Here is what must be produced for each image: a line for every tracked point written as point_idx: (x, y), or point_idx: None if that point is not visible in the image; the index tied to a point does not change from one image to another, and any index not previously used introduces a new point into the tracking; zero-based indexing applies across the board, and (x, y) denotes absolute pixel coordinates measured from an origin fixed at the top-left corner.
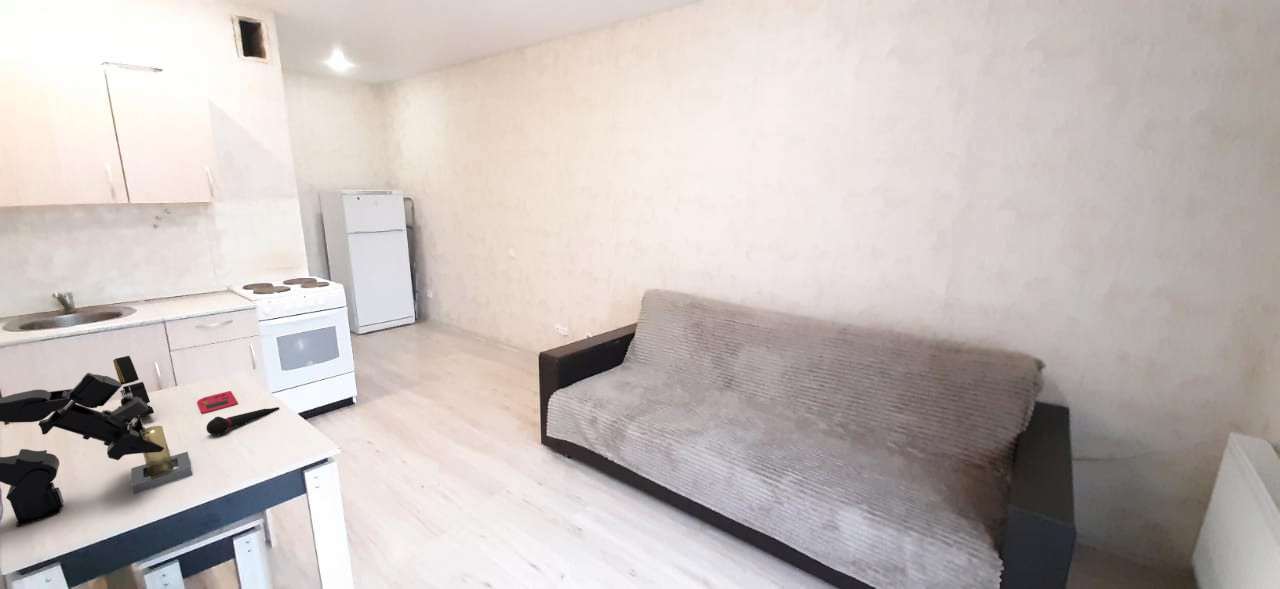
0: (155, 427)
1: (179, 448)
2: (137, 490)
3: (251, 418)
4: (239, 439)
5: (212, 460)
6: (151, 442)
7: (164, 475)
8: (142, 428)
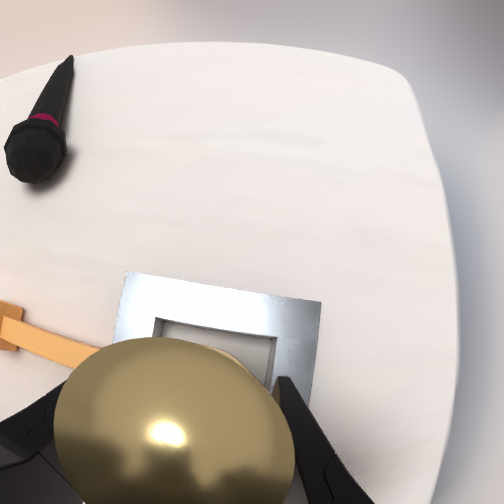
0: (117, 396)
1: (26, 277)
2: None
3: (66, 91)
4: (147, 135)
5: (239, 229)
6: (331, 453)
7: (306, 390)
8: (30, 463)
